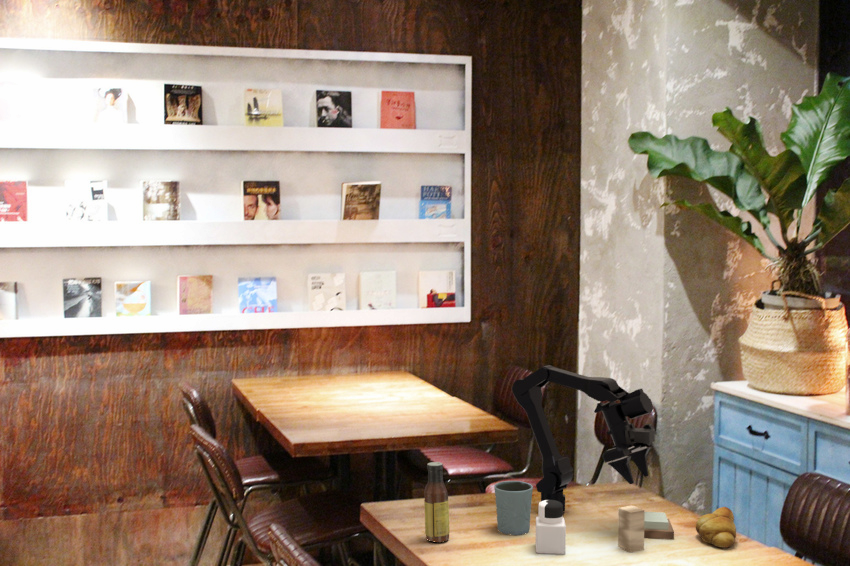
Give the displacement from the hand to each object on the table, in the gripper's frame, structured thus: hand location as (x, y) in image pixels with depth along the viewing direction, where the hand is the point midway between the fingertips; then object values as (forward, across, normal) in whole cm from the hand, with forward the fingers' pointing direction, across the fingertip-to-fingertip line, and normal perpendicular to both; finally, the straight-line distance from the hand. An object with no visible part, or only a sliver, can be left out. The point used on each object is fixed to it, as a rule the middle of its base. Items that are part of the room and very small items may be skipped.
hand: (639, 480), depth 232 cm
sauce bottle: (-3, -39, +40) cm, 56 cm away
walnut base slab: (+14, +1, +3) cm, 14 cm away
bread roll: (+21, +5, -12) cm, 24 cm away
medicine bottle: (+8, -27, +16) cm, 32 cm away
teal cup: (+2, -20, +30) cm, 36 cm away
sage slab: (+12, +1, +2) cm, 12 cm away
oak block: (+14, -14, +2) cm, 20 cm away
